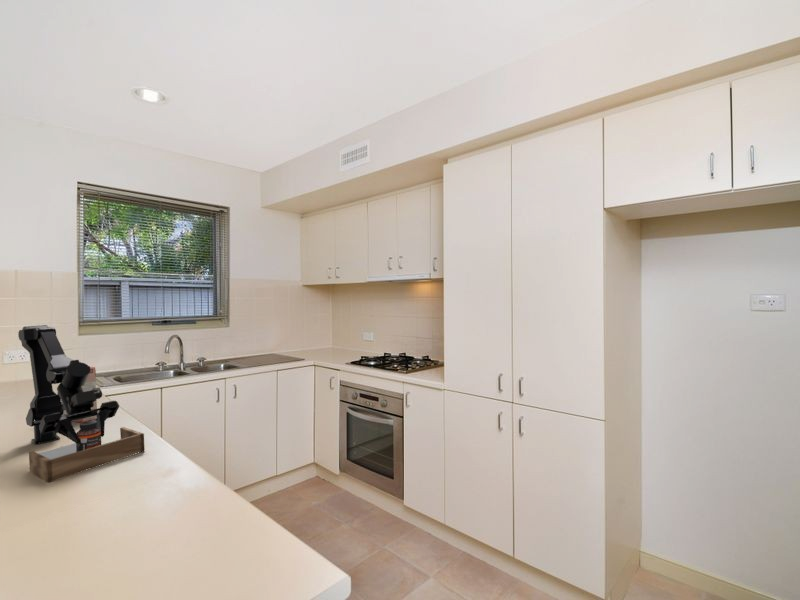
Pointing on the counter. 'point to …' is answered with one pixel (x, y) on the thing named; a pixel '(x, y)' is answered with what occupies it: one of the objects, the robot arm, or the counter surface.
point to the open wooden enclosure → (86, 457)
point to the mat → (59, 451)
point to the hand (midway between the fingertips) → (90, 439)
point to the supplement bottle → (88, 436)
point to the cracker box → (89, 386)
